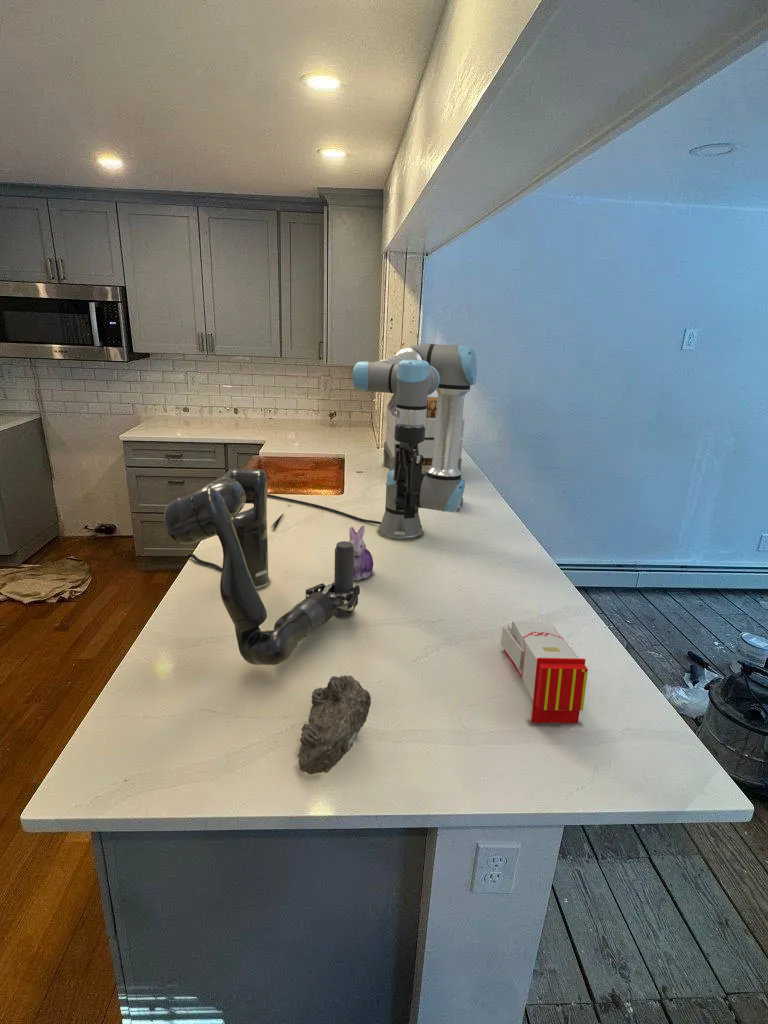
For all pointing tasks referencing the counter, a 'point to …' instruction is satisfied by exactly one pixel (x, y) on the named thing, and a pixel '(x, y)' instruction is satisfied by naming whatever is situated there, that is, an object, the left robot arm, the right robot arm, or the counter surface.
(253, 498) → the left robot arm
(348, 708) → the fossil
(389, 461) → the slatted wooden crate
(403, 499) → the lid
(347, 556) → the dark grey cylinder
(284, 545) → the counter surface
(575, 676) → the toy
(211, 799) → the counter surface
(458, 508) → the figurine character
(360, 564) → the figurine
